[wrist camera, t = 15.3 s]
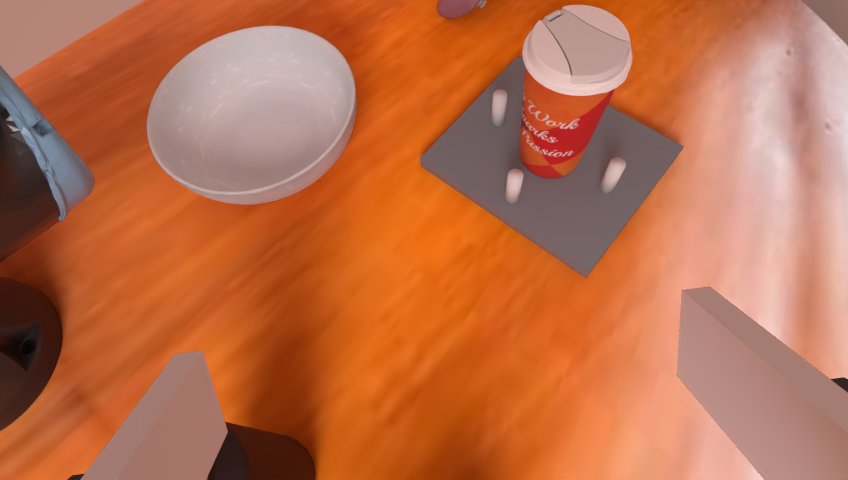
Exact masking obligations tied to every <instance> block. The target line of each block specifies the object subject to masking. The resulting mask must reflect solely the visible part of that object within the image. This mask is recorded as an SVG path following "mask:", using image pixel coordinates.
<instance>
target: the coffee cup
mask: <svg viewBox="0 0 848 480" xmlns="http://www.w3.org/2000/svg"><path fill="white" fill-rule="evenodd" d="M522 55H523V61H524V64H525V79H524V92H523V105H522V118H521V133H520V157H521V161H522V163H523V165H524V166H525V167H526V168H527V169H528V170H529V171H530V172H531V173H533V174H535V175H537V176H539V177H542V178H548V179H554V178H560V177H563V176H565V175H567V174H569V173H570V172H572V171H573V170H574V169H575V167H576V166H577V164H578V163H579V161H580V159H581V157H582V155H583V153H584V151H585V149H586V147H587V145H588V143H589V141H590V139H591V137H592V135H593V133H594V131H595V129H596V127H597V125H598V123H599V121H600V119H601V117H602V115H603V113H604V111H605V109H606V107H607V105H608V103H609V101H610V98H611V96H612V94H613V92H614V90H615V88H616V87H618V86H619V85H621V84H622V83H623V82H624V81H625V80H626V77H627V74H628V72H629V69H630V67H631V63H632V50H631V46H630V37H629V34H628V31H627V29H626V28H625V26H624V25H623V23H622V22H621V21H620V20H619V19H618V18H617V17H615V16H614V15H612V14H611V13H609V12H607V11H605V10H603V9H600V8H597V7H593V6H588V5H569V6H564V7H563V8H562V9H561V10H560V11H559V10H556V11H554V12H552V13H550V14H548V15H547V16H545V18H544V19H543V20H541V21H540V20H539V21H538V22H537V23H536V24H535V26H534V28H533V29H532V30H531V31H530V33H529V34H528V35H527V37H526V39H525V41H524V45H523V51H522Z"/></svg>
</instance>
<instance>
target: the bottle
mask: <svg viewBox="0 0 848 480" xmlns="http://www.w3.org/2000/svg"><path fill="white" fill-rule="evenodd" d="M225 424H226V427H227V430H228V433H227V435H226V437H225V439H224V442H223V444H222V446H221V448H220V450H219V453H218V455H217V457H216V459H215V461H214V463H213V466H212V468H211V470H210V472H209V474H208V476H207V479H206V480H314V479H315V470H314V466H313V461H312V458H311V456H310V455H309V453H308V451H307V449H306V448H305V447H304V446H303V445H302V444H300V443H299V442H298V441H297V440H295V439H292V438H289V437H287V436H283V435H279V434H275V433H270V432H266V431H262V430H258V429H253V428H249V427H245V426H240V425H236V424H232V423H228V422H225Z"/></svg>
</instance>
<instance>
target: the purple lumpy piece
mask: <svg viewBox="0 0 848 480" xmlns="http://www.w3.org/2000/svg"><path fill="white" fill-rule="evenodd" d="M485 4H486V0H485V1H484V0H440V1H439V2H438V4H437V11H438V12H439V14H440V15H441V16H443V17H446V18H457V17H460V16H463V15H465V14H467V13H470V12H472V10H473V9H474V8H476V7H478V6H480V5H481V6H480V8H482V7H483V6H484V5H485Z"/></svg>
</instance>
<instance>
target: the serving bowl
mask: <svg viewBox="0 0 848 480" xmlns="http://www.w3.org/2000/svg"><path fill="white" fill-rule="evenodd" d="M356 109H357V95H356V85H355V80H354V76H353V73H352V70H351V68H350V66H349V64H348V62H347V60H346V59H345V57H344V56H343V55H342V53H341V52H340V51H339V50H338V49H337V48H336V47H335V46H334V45H332V44H331V43H330V42H328V41H327V40H325V39H324V38H322V37H320V36H318V35H316V34H314V33H312V32H309V31H306V30H302V29H299V28H294V27H288V26H257V27H251V28H245V29H241V30H237V31H233V32H230V33H227V34H224V35H222V36H219V37H217V38H214V39H212V40H210V41H208V42H206V43H204V44H203V45H201V46H199V47H198V48H196V49H195V50H193V51H192V52H190V53H189V54H188V55H186V56H185V57H184V58H183V59H181V60H180V61H179V62H178V63H177V64H176V65H175V66H174V67H173V68H172V69H171V70H170V71H169V72H168V74H167V75H166V76H165V78H164V79H163V80H162V82H161V83H160V85H159V86H158V88H157V90H156V92H155V94H154V96H153V98H152V101H151V104H150V107H149V111H148V116H147V137H148V142H149V146H150V148H151V151H152V153H153V155H154V157H155V159H156V160H157V162H158V164H159V165H160V166H161V167H162V169H163V170H164V171H165V172H166V173H167V174H168V175H170V176H171V177H172V178H173V179H175V180H176V181H177V182H179V183H180V184H182V185H183V186H185V187H186V188H188V189H189V190H191V191H193V192H195V193H197V194H199V195H201V196H204V197H206V198H209V199H212V200H215V201H219V202H224V203H230V204H241V205H248V204H261V203H267V202H272V201H276V200H279V199H283V198H286V197H288V196H291V195H293V194H295V193H297V192H299V191H301V190H303V189H305V188H306V187H308V186H310V185H311V184H313V183H314V182H315V181H317V180H318V179H319V178H320V177H322V176H323V175H324V174H325V173H326V172H327V171H328V170H329V169H330V168H331V167H332V166H333V165H334V163H335V162H336V161H337V160H338V158H339V157H340V156H341V154H342V153H343V151H344V149H345V147H346V145H347V143H348V141H349V139H350V136H351V134H352V131H353V127H354V123H355V118H356Z"/></svg>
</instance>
